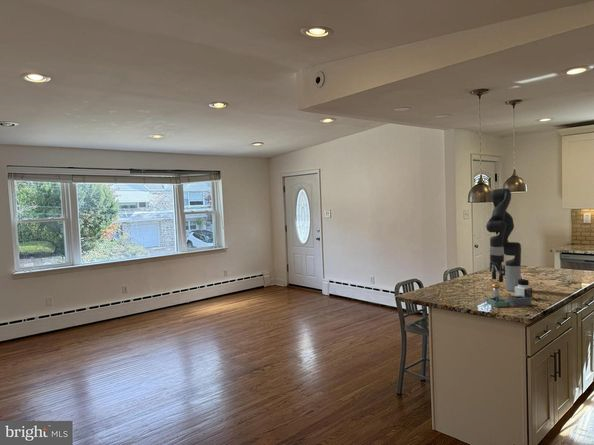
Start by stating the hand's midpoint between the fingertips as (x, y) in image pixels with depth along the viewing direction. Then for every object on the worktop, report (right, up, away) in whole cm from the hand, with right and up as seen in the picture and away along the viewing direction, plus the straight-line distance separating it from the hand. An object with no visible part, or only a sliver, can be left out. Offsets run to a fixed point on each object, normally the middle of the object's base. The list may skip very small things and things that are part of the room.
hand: (497, 280), depth 248 cm
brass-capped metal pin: (+1, -14, +3) cm, 14 cm away
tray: (+1, -15, +1) cm, 15 cm away
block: (+14, -14, +1) cm, 20 cm away
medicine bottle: (+24, -13, +14) cm, 31 cm away
